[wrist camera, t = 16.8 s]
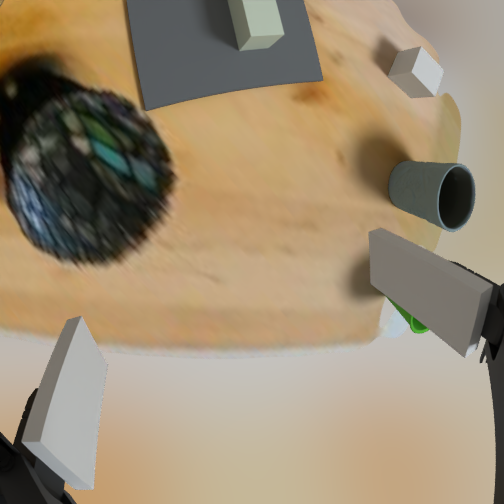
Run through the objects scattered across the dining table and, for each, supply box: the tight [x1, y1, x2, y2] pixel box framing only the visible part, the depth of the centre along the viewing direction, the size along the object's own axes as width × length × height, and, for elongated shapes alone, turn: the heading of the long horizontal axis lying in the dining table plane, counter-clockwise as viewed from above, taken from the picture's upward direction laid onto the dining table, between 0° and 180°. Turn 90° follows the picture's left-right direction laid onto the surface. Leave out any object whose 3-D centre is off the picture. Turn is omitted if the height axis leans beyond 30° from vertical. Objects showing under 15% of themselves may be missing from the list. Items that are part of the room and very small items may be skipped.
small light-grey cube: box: [387, 47, 444, 98], centre depth 37 cm, size 6×6×6 cm
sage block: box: [228, 0, 284, 51], centre depth 28 cm, size 4×6×12 cm
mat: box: [127, 0, 323, 111], centre depth 31 cm, size 24×20×1 cm
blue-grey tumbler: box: [388, 161, 475, 232], centre depth 41 cm, size 10×10×12 cm
